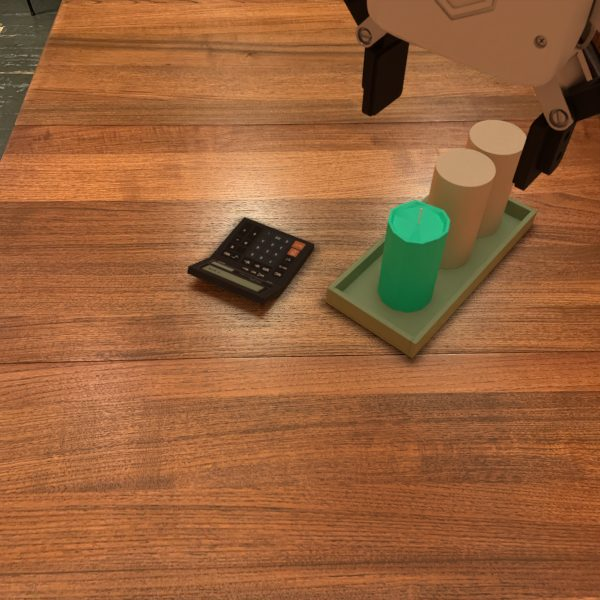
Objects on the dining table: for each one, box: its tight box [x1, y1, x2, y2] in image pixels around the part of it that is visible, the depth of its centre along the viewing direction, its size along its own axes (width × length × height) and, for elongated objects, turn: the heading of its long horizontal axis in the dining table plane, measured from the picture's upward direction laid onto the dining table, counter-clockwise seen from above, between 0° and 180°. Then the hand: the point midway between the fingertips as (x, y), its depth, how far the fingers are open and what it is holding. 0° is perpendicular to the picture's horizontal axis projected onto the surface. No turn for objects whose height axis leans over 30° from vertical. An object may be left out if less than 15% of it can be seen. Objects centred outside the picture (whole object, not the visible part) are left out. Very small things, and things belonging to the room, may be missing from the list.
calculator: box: [186, 216, 315, 307], centre depth 73 cm, size 9×12×3 cm
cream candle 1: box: [427, 147, 496, 269], centre depth 70 cm, size 6×6×12 cm
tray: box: [325, 194, 538, 359], centre depth 73 cm, size 11×25×2 cm, turn 139°
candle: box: [378, 199, 450, 313], centre depth 66 cm, size 6×6×12 cm
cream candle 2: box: [465, 119, 527, 238], centre depth 73 cm, size 6×6×12 cm
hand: (452, 138), depth 36 cm, fingers open, 9 cm apart
